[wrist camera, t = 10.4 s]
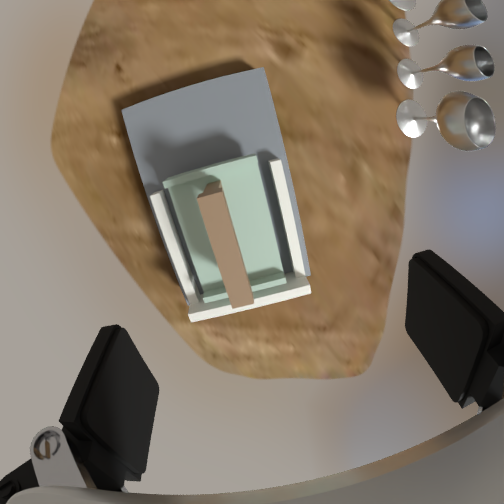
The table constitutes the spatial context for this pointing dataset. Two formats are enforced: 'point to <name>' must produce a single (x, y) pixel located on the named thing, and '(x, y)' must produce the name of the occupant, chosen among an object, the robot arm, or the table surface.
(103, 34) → the table surface
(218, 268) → the mint green tray
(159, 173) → the dock
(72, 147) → the table surface
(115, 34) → the table surface
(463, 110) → the goblet set
